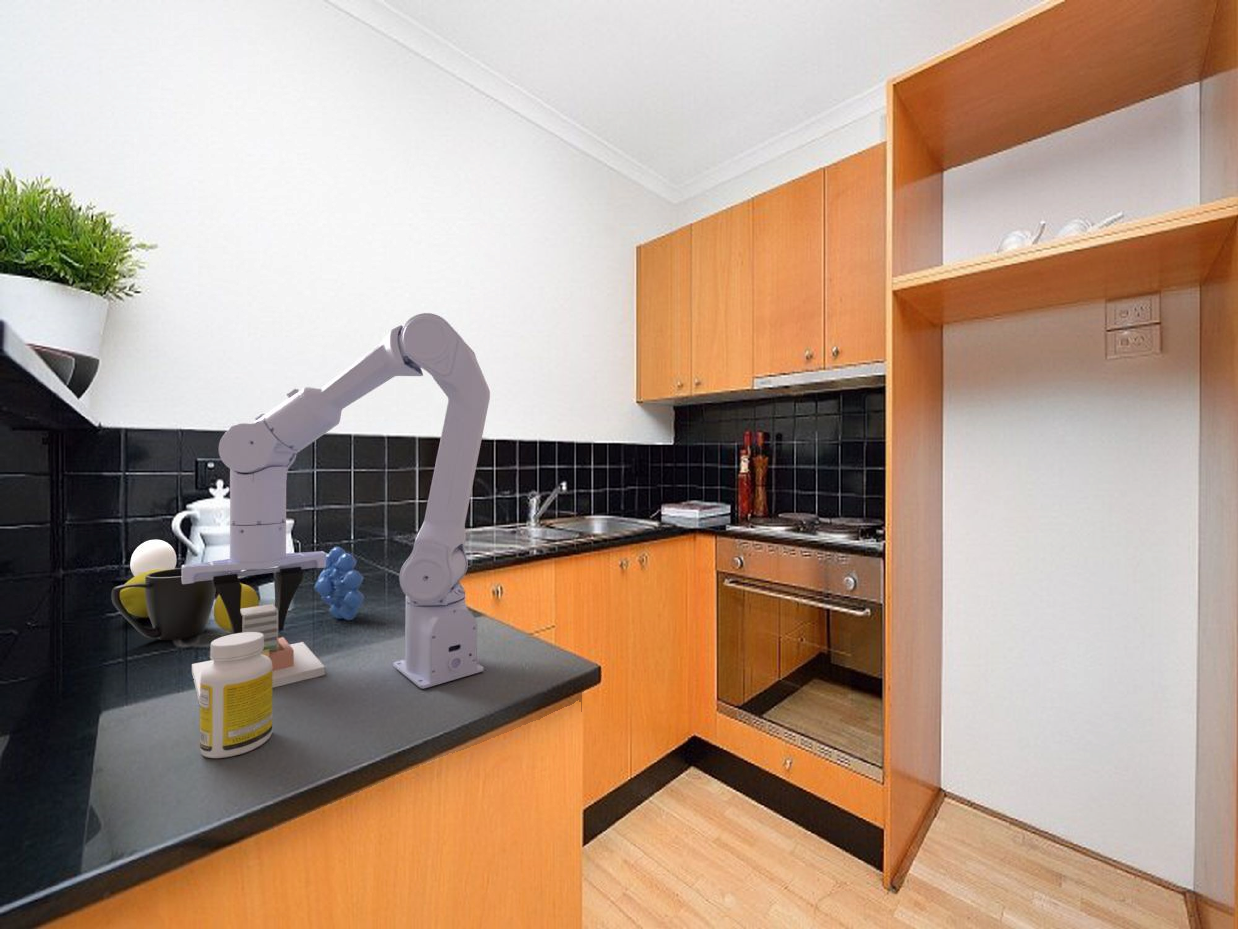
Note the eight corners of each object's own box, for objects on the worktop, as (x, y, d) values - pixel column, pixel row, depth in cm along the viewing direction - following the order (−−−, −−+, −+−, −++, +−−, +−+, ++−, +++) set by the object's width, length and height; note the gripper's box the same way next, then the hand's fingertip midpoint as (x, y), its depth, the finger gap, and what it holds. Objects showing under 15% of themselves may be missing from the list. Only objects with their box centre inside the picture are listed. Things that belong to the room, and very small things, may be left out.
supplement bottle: (285, 728, 50) (285, 628, 51) (246, 760, 45) (247, 648, 45) (228, 729, 50) (229, 629, 50) (183, 761, 45) (184, 649, 45)
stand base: (324, 674, 63) (324, 645, 63) (199, 705, 55) (199, 671, 55) (302, 649, 72) (302, 623, 72) (191, 672, 64) (191, 643, 64)
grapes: (296, 618, 86) (296, 547, 86) (337, 609, 92) (338, 542, 92) (331, 632, 80) (331, 554, 80) (373, 621, 85) (373, 548, 85)
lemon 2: (234, 641, 75) (235, 586, 75) (203, 638, 76) (204, 585, 76) (267, 629, 80) (268, 578, 80) (238, 627, 82) (238, 577, 82)
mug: (100, 645, 73) (100, 578, 73) (201, 623, 84) (201, 564, 84) (122, 655, 69) (123, 585, 69) (225, 631, 80) (226, 569, 80)
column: (278, 657, 63) (278, 610, 63) (242, 664, 61) (242, 615, 61) (272, 648, 66) (273, 603, 66) (238, 655, 64) (238, 609, 64)
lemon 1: (183, 606, 94) (184, 562, 94) (204, 612, 90) (204, 566, 90) (102, 622, 84) (103, 573, 84) (121, 629, 80) (121, 578, 80)
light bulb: (133, 594, 102) (133, 539, 102) (177, 589, 106) (178, 536, 106) (127, 602, 96) (127, 543, 96) (174, 596, 100) (175, 540, 100)
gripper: (317, 516, 72) (316, 614, 71) (180, 524, 62) (179, 637, 62) (330, 520, 66) (330, 626, 66) (183, 530, 56) (183, 653, 56)
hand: (258, 632), depth 64 cm, fingers closed on column, 4 cm apart
